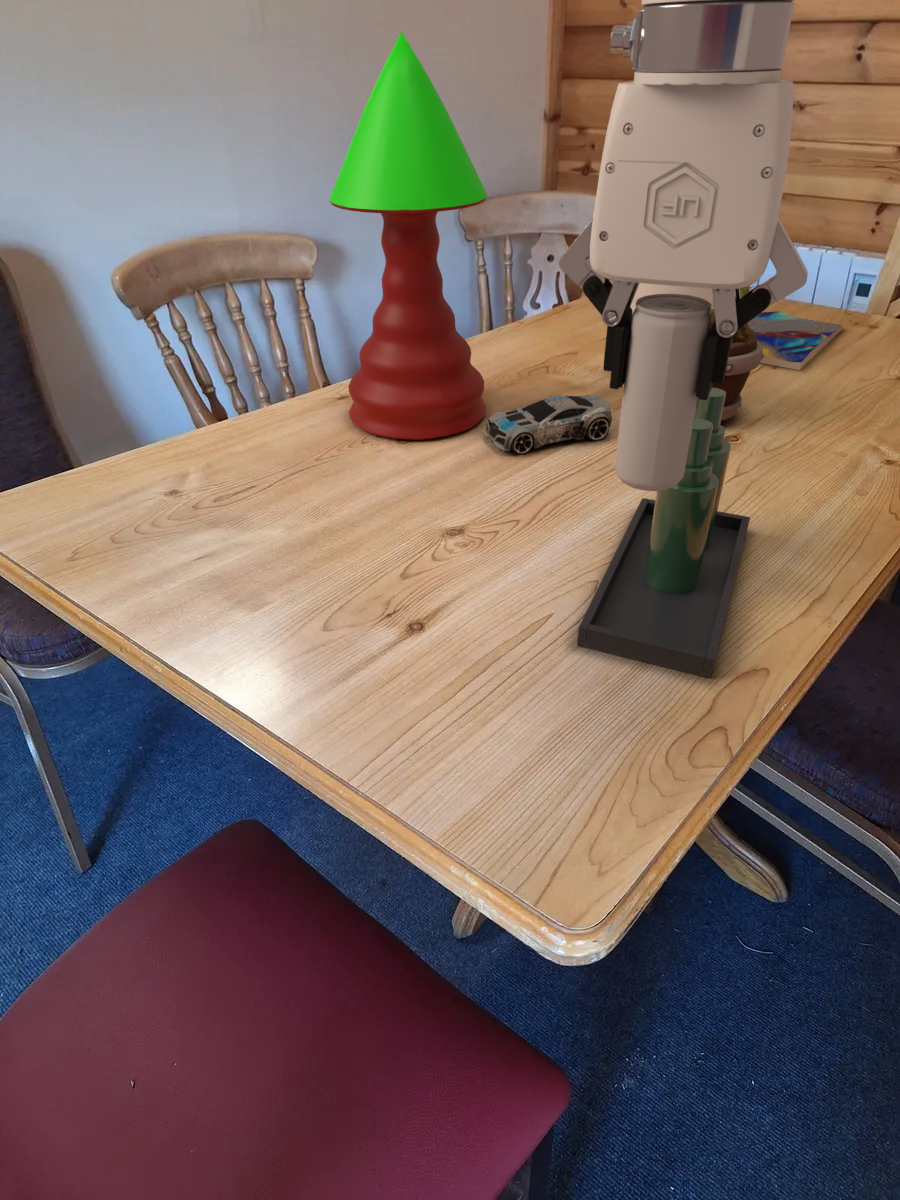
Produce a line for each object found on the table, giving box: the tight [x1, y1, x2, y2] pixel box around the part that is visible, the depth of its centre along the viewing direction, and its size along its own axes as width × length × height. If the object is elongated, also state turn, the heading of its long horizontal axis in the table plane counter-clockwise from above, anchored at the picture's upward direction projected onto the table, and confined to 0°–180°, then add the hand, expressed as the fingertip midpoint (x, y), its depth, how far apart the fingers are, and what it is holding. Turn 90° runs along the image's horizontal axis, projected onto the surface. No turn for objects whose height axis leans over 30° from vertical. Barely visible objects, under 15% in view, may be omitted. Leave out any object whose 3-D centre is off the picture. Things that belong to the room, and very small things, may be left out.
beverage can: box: [614, 294, 711, 492], centre depth 52 cm, size 5×5×12 cm
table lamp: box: [329, 31, 488, 441], centre depth 100 cm, size 20×20×45 cm
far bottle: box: [695, 388, 732, 550], centre depth 77 cm, size 5×5×16 cm
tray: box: [576, 497, 751, 679], centre depth 76 cm, size 12×26×2 cm, turn 156°
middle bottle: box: [644, 419, 719, 594], centre depth 72 cm, size 5×5×16 cm
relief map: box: [748, 311, 844, 371], centre depth 136 cm, size 25×15×2 cm, turn 144°
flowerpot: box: [694, 285, 764, 425], centre depth 105 cm, size 14×15×20 cm
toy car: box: [483, 394, 613, 455], centre depth 104 cm, size 8×17×5 cm, turn 111°
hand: (661, 384), depth 51 cm, fingers closed on beverage can, 4 cm apart
